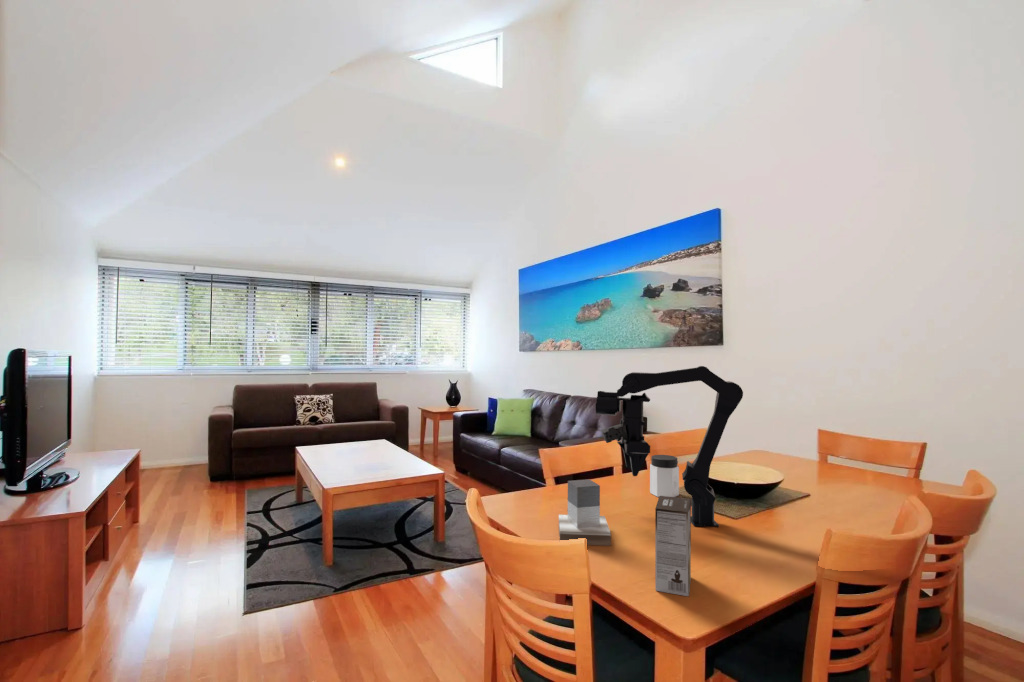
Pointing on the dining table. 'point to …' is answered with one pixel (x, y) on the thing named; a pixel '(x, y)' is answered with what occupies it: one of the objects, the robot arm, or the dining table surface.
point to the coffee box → (673, 545)
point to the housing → (583, 503)
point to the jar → (664, 476)
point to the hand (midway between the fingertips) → (631, 471)
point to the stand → (585, 532)
